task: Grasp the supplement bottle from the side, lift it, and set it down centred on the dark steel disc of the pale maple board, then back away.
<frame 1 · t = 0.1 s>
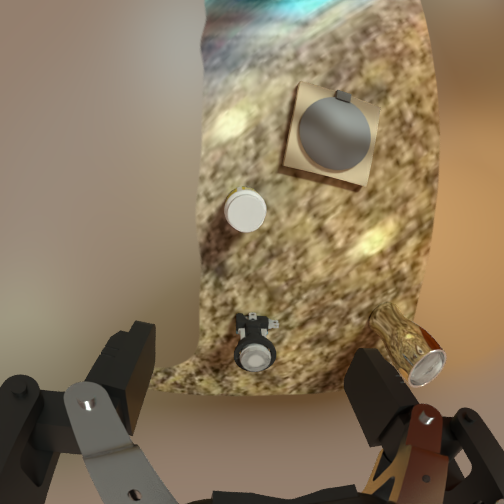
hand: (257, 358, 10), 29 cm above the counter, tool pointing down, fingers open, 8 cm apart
push button: (255, 320, 43), on the counter
supplement bottle: (243, 203, 38), on the counter
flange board: (332, 134, 35), on the counter
beer glass: (383, 317, 45), on the counter
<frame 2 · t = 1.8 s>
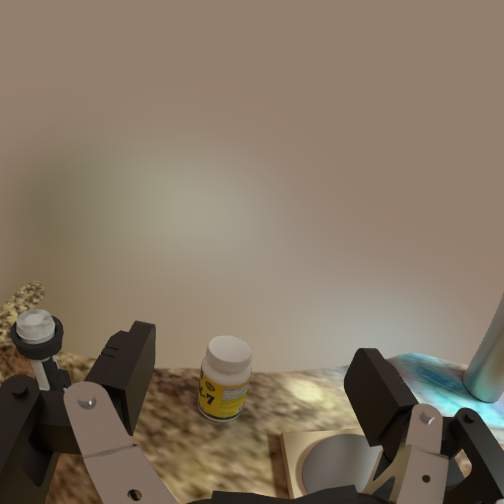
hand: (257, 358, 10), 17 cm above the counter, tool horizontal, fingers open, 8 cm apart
push button: (55, 404, 20), on the counter
supplement bottle: (219, 408, 27), on the counter
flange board: (348, 480, 19), on the counter
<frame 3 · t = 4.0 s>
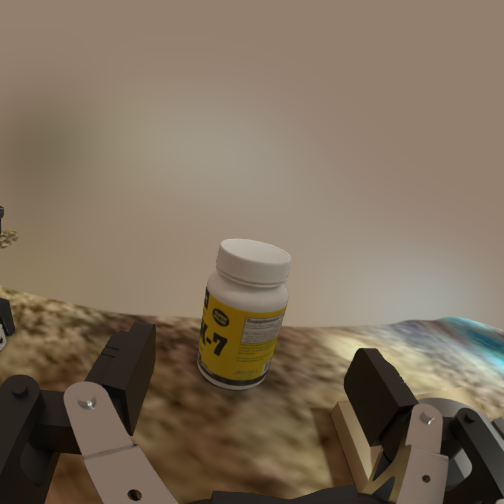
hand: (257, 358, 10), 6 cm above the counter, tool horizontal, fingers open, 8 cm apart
supplement bottle: (231, 370, 18), on the counter
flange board: (440, 468, 10), on the counter
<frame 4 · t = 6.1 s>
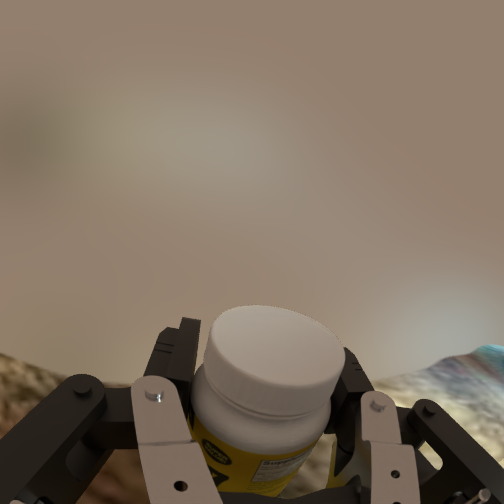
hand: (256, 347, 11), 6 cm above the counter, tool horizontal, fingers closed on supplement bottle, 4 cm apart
supplement bottle: (234, 474, 10), on the counter, touching gripper
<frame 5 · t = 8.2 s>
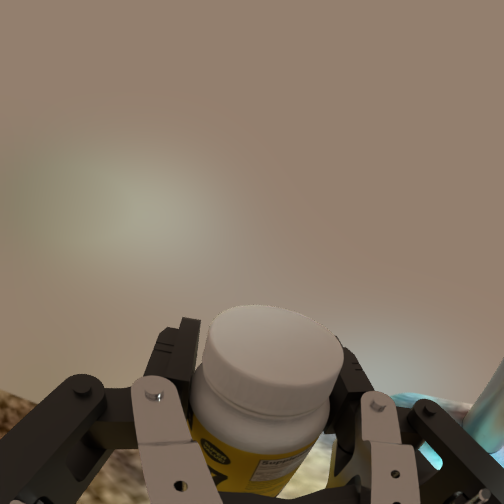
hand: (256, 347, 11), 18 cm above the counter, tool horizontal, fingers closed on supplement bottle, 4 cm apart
supplement bottle: (233, 474, 10), point 11 cm above the counter, touching gripper
when the fingers open (9 cm above the counter, at t = 10.6 s): supplement bottle drops 1 cm, resting on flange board.
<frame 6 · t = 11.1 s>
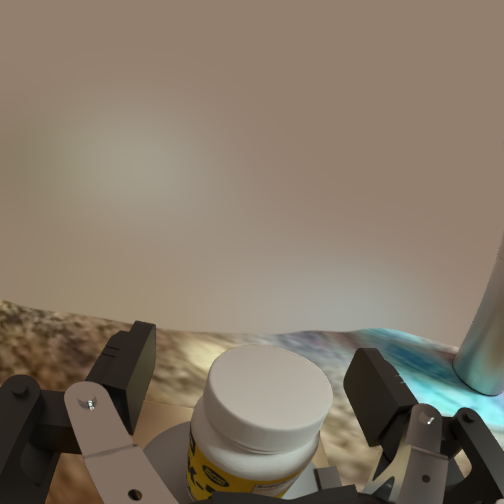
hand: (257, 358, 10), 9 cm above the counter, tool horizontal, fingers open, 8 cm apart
supplement bottle: (232, 488, 11), point 2 cm above the counter, touching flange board
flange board: (226, 496, 11), on the counter
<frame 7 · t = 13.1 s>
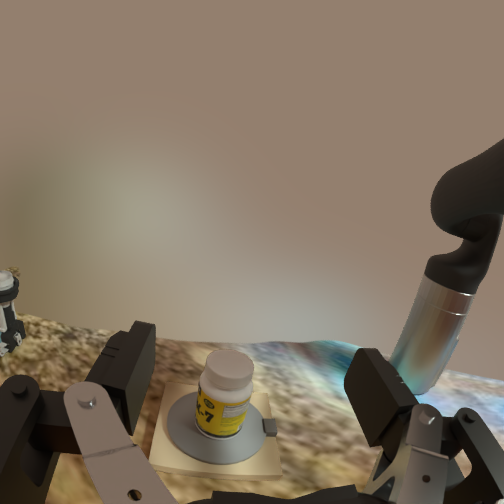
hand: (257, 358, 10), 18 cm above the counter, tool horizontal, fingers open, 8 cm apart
push button: (11, 346, 26), on the counter
supplement bottle: (218, 425, 24), point 2 cm above the counter, touching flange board
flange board: (215, 432, 25), on the counter
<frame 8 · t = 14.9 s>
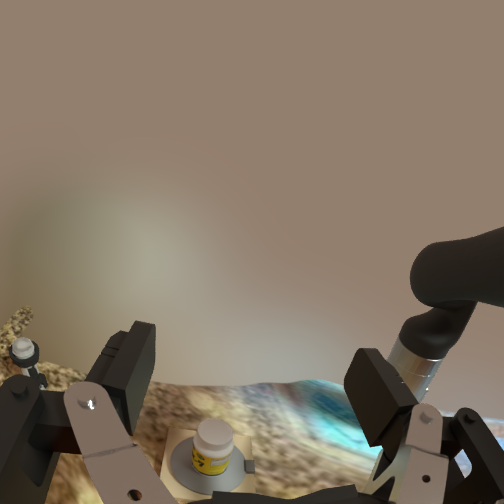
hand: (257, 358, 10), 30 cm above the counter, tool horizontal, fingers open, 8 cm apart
push button: (36, 395, 31), on the counter
supplement bottle: (209, 464, 29), point 2 cm above the counter, touching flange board
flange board: (207, 468, 29), on the counter
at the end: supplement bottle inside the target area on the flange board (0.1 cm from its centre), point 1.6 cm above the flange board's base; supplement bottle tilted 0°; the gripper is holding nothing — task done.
